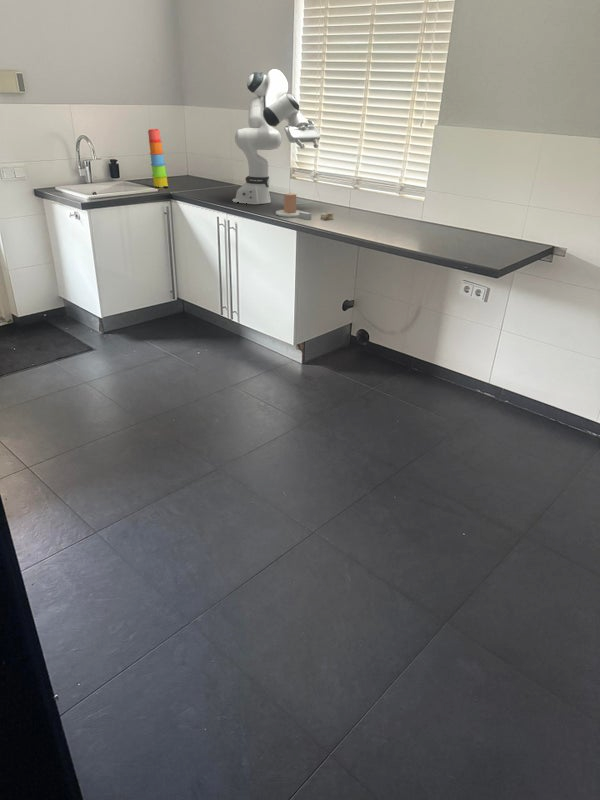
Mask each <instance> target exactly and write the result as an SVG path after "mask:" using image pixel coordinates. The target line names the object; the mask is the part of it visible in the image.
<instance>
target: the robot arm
mask: <svg viewBox="0 0 600 800" xmlns="http://www.w3.org/2000/svg"><path fill="white" fill-rule="evenodd" d="M246 86H247V90H249V92H250V93H253V94H254V95H255V97H253V98H252V99H251V100H250V102H249V107H248V126H249V127H244V128H239V129H237V130H236V132H235V135H234V142H235V144H236V146H237V148H238V149H240V150H241V151H242V152H243V154H244V155H245V157H246V161H247V165H248V175H247V176H246V177H245V179H244V180H245V183H244V184H243V185H242V186H240V187H239V188H238V189H237V191H236V195H235V198H233V199H232V201H233V202H232V203H237V202H239V204H246V203H247V204H248V205H260V204H261V205H262V204H270V203H272V200H271V196H270V176H269V161H268V160H267V159H266V158H265V157H264V156H261V155H259V154H258V152H257V151H272V150H277V149H279V147H280V146H281V144H282V135H281V133H280V131H279V130H278V129H276V128H277V126H278V125H279V124H281V122H282V121H284V120H285V121H286V122H287V125H285V127H284V131H285V134H286V138H287V140H288V142H289V143H291V144H294V143H295V144H296V145H297V146H299V148H300V149H301V150H303V149H305V147H306V146H305V143H313V148H314V149H318V147H319V145H318V142H319V141H320V140H321V134H320V131H319V129H318V128H317V127H316V126H315V122H314V121H313V120H310V119H307V118H306V117H304V116H303V114H302V113H301V111H300V105H299V103H298V100H297V99H296V97H295V95H294V94H292V93H288V90H289V83H288V80H287V78H286V76H285V75H284V74H283V72H281V70H279V69H276V68H274V69H271V70H269V72H267V74H264V73H263V72H262V71H261V72H259V71H258V72H257V71H254V72H252V73H251V74H250V75H249V76H248V80H247V84H246ZM274 127H276V128H274ZM247 204H246V205H247Z"/></svg>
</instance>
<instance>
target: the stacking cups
mask: <svg viewBox="0 0 600 800" xmlns="http://www.w3.org/2000/svg"><path fill="white" fill-rule="evenodd" d="M147 134H148V144H149V150H150V151H149V154H150V161H151V164H150V166H151V169H152V170H151V171H152V175H151V177H152V182H153V186H157V187H158V186H159V187H163V186H169V185H168V174H167V171H166V163H165V159H164V158H165V157H164V152H163V145H162V140H161V133H160V130H159V129H158V128H152V129H148V131H147Z"/></svg>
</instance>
